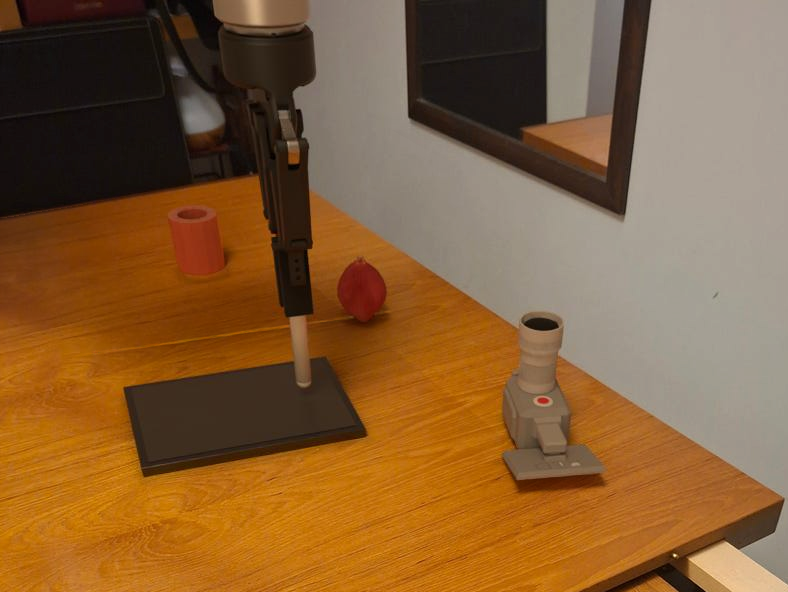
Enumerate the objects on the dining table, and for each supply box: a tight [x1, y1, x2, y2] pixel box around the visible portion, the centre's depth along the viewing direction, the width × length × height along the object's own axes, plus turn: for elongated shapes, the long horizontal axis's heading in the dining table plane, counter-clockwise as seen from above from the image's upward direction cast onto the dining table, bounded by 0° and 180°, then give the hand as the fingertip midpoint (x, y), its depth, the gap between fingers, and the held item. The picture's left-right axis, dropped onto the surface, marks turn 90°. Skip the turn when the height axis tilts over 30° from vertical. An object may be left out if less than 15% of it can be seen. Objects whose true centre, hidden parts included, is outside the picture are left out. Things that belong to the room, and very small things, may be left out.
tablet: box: [122, 355, 367, 478], centre depth 93 cm, size 16×22×1 cm
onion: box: [336, 255, 388, 323], centre depth 107 cm, size 6×6×8 cm
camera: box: [501, 310, 608, 481], centre depth 87 cm, size 9×12×15 cm
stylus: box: [288, 315, 311, 388], centre depth 89 cm, size 2×2×16 cm
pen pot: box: [167, 204, 226, 276], centre depth 116 cm, size 6×6×7 cm
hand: (296, 308), depth 88 cm, fingers closed on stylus, 2 cm apart
